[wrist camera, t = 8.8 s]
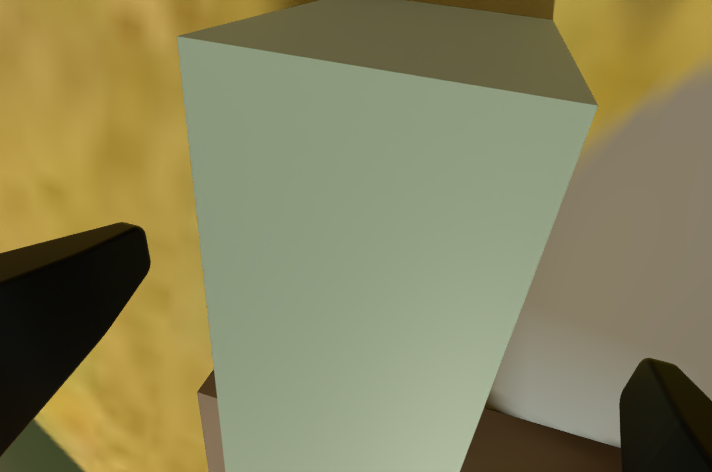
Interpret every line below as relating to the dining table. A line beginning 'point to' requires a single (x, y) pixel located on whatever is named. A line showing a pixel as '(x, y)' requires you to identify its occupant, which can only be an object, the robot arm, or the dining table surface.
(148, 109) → the dining table surface
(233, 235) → the block
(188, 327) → the dining table surface
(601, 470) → the walnut board
